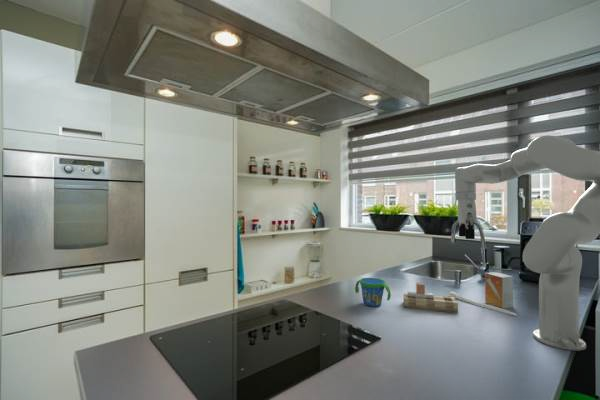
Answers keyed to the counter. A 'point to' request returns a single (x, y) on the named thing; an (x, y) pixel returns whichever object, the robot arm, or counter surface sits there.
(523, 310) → the counter surface
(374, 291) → the snack cup
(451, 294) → the spatula
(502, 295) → the small box
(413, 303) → the rail
